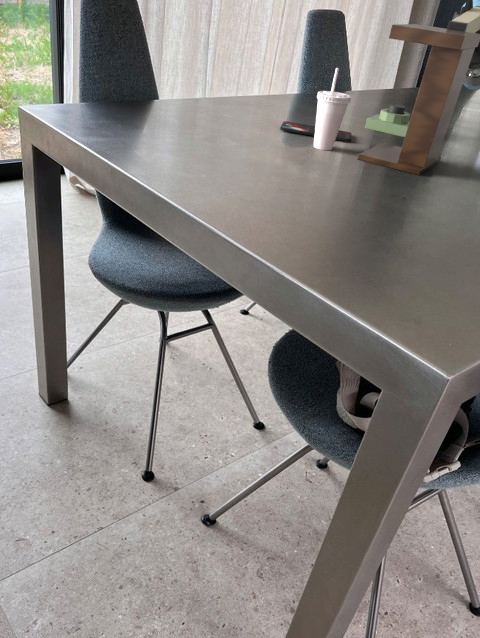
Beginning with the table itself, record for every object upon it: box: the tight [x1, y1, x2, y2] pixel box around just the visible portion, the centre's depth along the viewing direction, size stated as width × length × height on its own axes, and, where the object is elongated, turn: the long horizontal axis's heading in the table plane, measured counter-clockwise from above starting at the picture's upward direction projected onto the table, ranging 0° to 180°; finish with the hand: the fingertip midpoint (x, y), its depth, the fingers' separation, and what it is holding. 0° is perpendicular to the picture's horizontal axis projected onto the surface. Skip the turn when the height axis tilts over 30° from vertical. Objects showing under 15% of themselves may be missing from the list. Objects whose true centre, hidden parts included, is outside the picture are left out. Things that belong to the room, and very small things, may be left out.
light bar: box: [446, 6, 480, 33], centre depth 109 cm, size 3×22×3 cm, turn 148°
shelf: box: [357, 23, 480, 176], centre depth 104 cm, size 12×14×22 cm
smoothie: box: [313, 67, 352, 151], centre depth 108 cm, size 6×6×14 cm
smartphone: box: [279, 121, 352, 143], centre depth 121 cm, size 7×1×15 cm
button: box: [387, 103, 406, 114], centre depth 130 cm, size 4×4×2 cm
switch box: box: [364, 108, 411, 138], centre depth 131 cm, size 10×8×4 cm
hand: (477, 4), depth 109 cm, fingers closed on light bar, 3 cm apart
